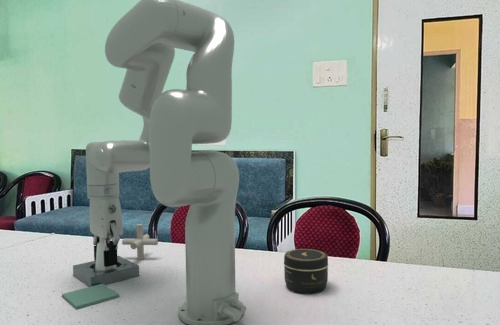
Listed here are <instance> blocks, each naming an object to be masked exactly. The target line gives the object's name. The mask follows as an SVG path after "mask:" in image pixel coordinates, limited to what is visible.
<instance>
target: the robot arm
mask: <svg viewBox="0 0 500 325" xmlns="http://www.w3.org/2000/svg"><path fill="white" fill-rule="evenodd" d="M234 35H235V34H234V31H233V29H232V26H231V25H230V23H229V22H228V21H227V20H226V19H225V18H224V17H222V16H220V15H219V14H217V13H214V12H212V11H210V10H207V9H205V8H202V7H199V6H196V5H194V4H191V3H189V2H185V1H182V0H139V1H138V2H137V3H136V4H135V5H133V7H132V8H130V9H129V10H128V11H127V12H125V14H124V15H123V16H122V17H121V18H120V19H119V20H118V21H117V22H115V24H114V25H113V27H112V28H111V29H110V31H109V32H108V35H107V36H106V37H107V38H106V40H105V44H104V54H105V57H106V60H107V61H108V63H109V64H110V65H112V66H113V67H115V68H119V69H125V70H126V72H125V75H124V78H123V81H122V84H121V88H120V91H119V94H118V99H119V101H120V104H122V105H123V106H124V107H125V108H127V109H128V110H130V111H132V112H133V113H135V114H137V115H139V116H141V117H142V121H143V126H142V131H141V133H140V136H139V139H138V140H134V139H133V140H129V139H128V140H125V139H124V140H122V139H121V140H106V141H91V142H89V143H87V144H86V146H85V161H86V162H85V164H86V192H87V194H86V196H87V197H86V198H87V199H89V210H88V212H89V213H88V215H89V219H88V223H89V232H90V233H91V234H92V238H93V243H92V244H93V258H94V260H93V261H96V252H97V243H99V242H100V239H99V237H101V238H103V239H104V246H105V250H104V266H105V267H108V266H113V265H117V256H118V249H119V248H118V245H119V241H120V239H121V236H122V237H123V234H124V228H123V216H122V215H123V214H122V206H121V201H120V173H126V172H141V171H145V170H148V169H149V182H150V186H151V191H152V193H153V196H154V198H155V199H156V200H157V202H159V203H160V204H161V205H163V206H165V207H169V208H179V207H185V206H189V208H188V211H187V215H186V218H185V226H184V232H185V234H184V235H185V237H184V238H185V240H184V242H185V243H184V244H185V248H184V249H185V250H184V251H185V282H186V284H185V287H186V301H185V302H183V303H182V304H181V305H180V306H179V307H178V317H179V319H180V320H181V321H182V322H183V323H185V324H187V325H230V324H232V323H234V322H239V321H240V320H241V318H242V316H243V315H244V314H245V313H246V312H247V307H246V305H244V304H243V302H241V300H239V293H238V292H236V242H235V241H236V227H235V226H236V222H235V221H236V218H235V217H236V206H237V204H236V203H237V198H238V197H237V196H238V191H239V184H240V171H239V168H238V164H237V163H236V161H235V160H234V158H232V157H231V156H230V155H229V154H227V153H225V152H222V151H218V150H199V151H198V150H196V151H192V150H193V145H206V144H216V143H220V142H223V141H225V140H226V139H227V138H228V136H229V135H230V132H231V129H232V123H233V122H232V118H233V112H232V111H233V109H232V108H233V107H232V106H233V105H232V104H233V101H232V100H233V90H232V89H233V85H232V84H233V82H232V81H233V79H232V78H233V74H232V72H233V68H232V67H233V62H234V61H233V60H234V59H233V58H234V52H235V36H234ZM175 49H179V50H184V51H188V52H193V55H192V56H191V58H190V60H189V63H188V64H187V66H186V67H187V68H186V72H185V73H186V74H185V78H186V86H185V87H186V88H185V89H181V88H173V89H167V90H165V91H164V89H165V88H164V87H165V85H166V83H167V79H168V77H169V74H170V71H171V69H172V66H173V62H174V59H175V54H176V52H175V51H176V50H175ZM163 91H164V92H163ZM107 235H110V236H111V237H108V236H107ZM108 240H110V242H109V244H108Z"/></svg>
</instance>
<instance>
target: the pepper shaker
mask: <svg viewBox="0 0 500 325" xmlns="http://www.w3.org/2000/svg"><path fill="white" fill-rule="evenodd" d="M107 236H108V237H112V235H107ZM99 239H100V242H99V243H97V252H96V265H95V271H104V270H108V269H113V268H117V267H116V265H113V266H108V267H105V266H104V250H105V246H104V239H103V238H101V237H99ZM110 241H111V240H108V244H109V242H110Z"/></svg>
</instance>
